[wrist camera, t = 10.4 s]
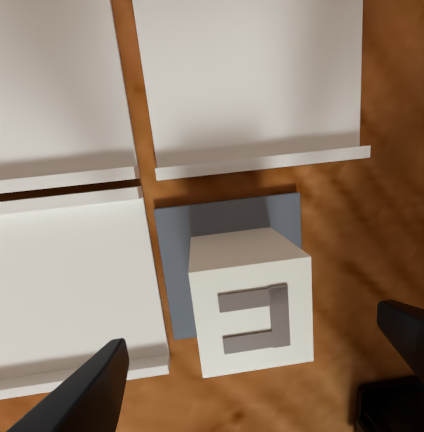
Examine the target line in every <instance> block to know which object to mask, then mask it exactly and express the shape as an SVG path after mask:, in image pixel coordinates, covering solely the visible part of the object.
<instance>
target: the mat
mask: <svg viewBox="0 0 424 432" xmlns="http://www.w3.org/2000/svg"><path fill="white" fill-rule="evenodd" d="M154 216H155V222H156V228H157V234H158V241H159V247H160V253H161V259H162V266H163V272H164V278H165V284H166V291H167V297H168V303H169V309H170V316H171V322H172V328H173V335H174V340H178V339H185V338H192V337H197V332H196V325H195V318H194V311H193V303H192V296H191V289H190V282H189V275H188V269H189V255H190V241H191V237H196V236H204V235H212V234H219V233H227V232H235V231H243V230H251V229H259V228H267V227H271V228H273V229H274V230H275V231H277V232H278V233H280V234H281V235H282V236H284V237H285V238H286V239H288V240H289V241H291V242H292V243H293V244H295V245H296V246H297V247H299V248H300V249H302V247H301V211H300V193H298V192H294V193H285V194H277V195H268V196H259V197H251V198H242V199H233V200H225V201H216V202H207V203H199V204H190V205H181V206H173V207H164V208H155V209H154Z"/></svg>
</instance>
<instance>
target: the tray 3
mask: <svg viewBox="0 0 424 432" xmlns="http://www.w3.org/2000/svg"><path fill="white" fill-rule="evenodd" d="M132 2H133V9H134V16H135V22H136V29H137V35H138V42H139V49H140V55H141V62H142V69H143V75H144V82H145V89H146V95H147V102H148V108H149V115H150V122H151V128H152V135H153V142H154V148H155V155H156V162H157V168H155V172H156V179H157V181H159V180H168V179H177V178H186V177H196V176H205V175H214V174H223V173H232V172H241V171H251V170H260V169H269V168H278V167H287V166H296V165H306V164H315V163H324V162H333V161H342V160H351V159H361V158H370V148H371V145H370V146H361V147H359V145H360V102H361V59H362V16H363V0H132Z"/></svg>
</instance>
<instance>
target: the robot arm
mask: <svg viewBox="0 0 424 432" xmlns="http://www.w3.org/2000/svg"><path fill="white" fill-rule="evenodd" d="M377 324H378V327H379V329H380V330H381V331H382V332H383V334H384V335H385V336H386V338H387V339H388V340H389V341H390V343H391V344H392V345H393V346H394V348H395V349H396V350H397V352H398V353H399V354H400V355H401V357H402V358H403V359H404V360H405V362H406V363H407V364H408V366H409V367H410V368H411V369H412V370H413V372H414V373H415V374H416V375H417V376H414V377H407V378H401V379H395V380H389V381H383V382H377V383H370V384H364V385H361V386H360V387H359V388H358V390H357V417H356V432H424V309H421V308H417V307H414V306H411V305H408V304H404V303H401V302H398V301H394V300H384V301H380V302H379V303H378V305H377ZM128 369H129V355H128V350H127V345H126V341H125V339H124V338H118V339H112V340H110V341H109V342H108V343H107V344H106V345H105V346H103V347H102V348H101V349H100V350H99V351H98V352H97V353H95V354H94V355H93V356H92V357H91V358H90V359H89V360H87V361H86V362H85V363H84V364H83V365H82V366H81V367H79V368H78V369H77V370H76V371H75V372H74V373H73V374H71V375H70V376H69V377H68V378H67V379H66V380H65V381H63V382H62V383H61V384H60V385H59V386H58V387H57V388H55V389H54V390H53V391H52V392H51V393H50V394H49V395H47V396H46V397H45V398H44V399H43V400H42V401H41V402H39V403H38V404H37V405H36V406H35V407H34V408H32V409H31V410H30V411H29V412H28V413H27V414H26V415H24V416H23V417H22V418H21V419H20V420H19V421H18V422H16V423H15V424H14V425H13V426H12V427H11V428H10V429H8V430H7V431H6V432H115V431H116V427H117V423H118V420H119V415H120V410H121V405H122V400H123V395H124V390H125V385H126V379H127V374H128Z"/></svg>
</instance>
